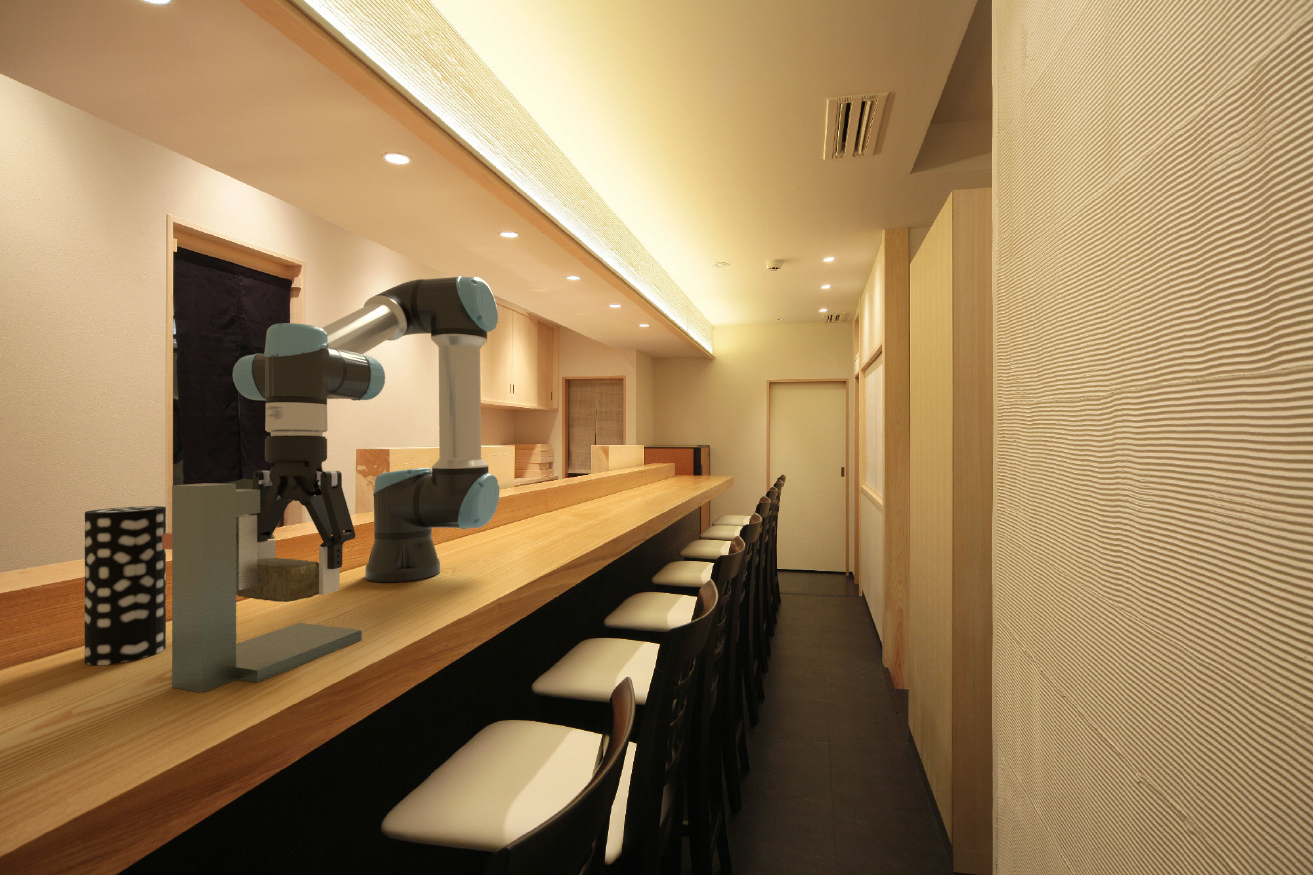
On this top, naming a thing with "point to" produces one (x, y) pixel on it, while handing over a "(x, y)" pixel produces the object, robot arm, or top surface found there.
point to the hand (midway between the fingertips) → (296, 589)
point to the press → (226, 598)
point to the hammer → (238, 550)
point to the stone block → (284, 580)
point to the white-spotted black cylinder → (124, 584)
